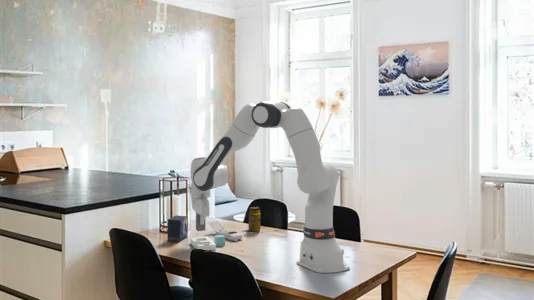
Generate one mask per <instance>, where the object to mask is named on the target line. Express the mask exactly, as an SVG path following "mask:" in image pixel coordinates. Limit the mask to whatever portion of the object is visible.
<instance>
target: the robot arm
mask: <svg viewBox="0 0 534 300" xmlns="http://www.w3.org/2000/svg"><path fill="white" fill-rule="evenodd" d="M260 128H264V129H277V128H282V129H283V131H284V134H285V136H286V138H287V140H288V143H289V145H290V149H291V151H292V153H293V156H294V159H295V164H296V169H297V171H296V172H297V178H296V179H297V180H296V181H297V182H296V183H297V186H298V189H299V190H300V191H301V192H302V193H305V194H307V195H308V197H307V200H306V201H307V202H306V204H305V205H304V206H305V207H304V226H303V236H304V237H303V239H302V240H301V242H300V247H299V259H297V260H296V264H297V265H299V266H301V267H304V268H307V269H309V270H311V271H313V272H316V273H318V274H319V273H320V274H323V273H324V274H328V273H339V272H344V271H348V270H350V269H351V266H350V265H348V263H347V262H345V260H344V255H345V249H344V248H341V247H340V245H339V243H338V242H337V239H336V234H335V233H336V231H335V230H334V226H333V225H334V224H333V223H334V221H333V217H334V216H333V215H334V214H333V213H334V209H333V208H334V202H335V198H336V197H335V196H336V191H337V190H336V189H337V185H338V182H339V180H340V179H339V178H340V174H339V170H338V169H337V168H336V167H335V166H334V165H332V164H328V163H323V160H322V155H321V145H320V142H319V139H318V137H317V134H316V133H315V129H314V128H313V126H312V124H311V121H310V120H309V118H308V115H307V114H306V113H305V111H304V110H303V109H302V108H300V107H291V106H290V105H289V104H287V103H285V102H283V101H275V100H268V101H267V100H265V101H260V102H258V103H257V104H254V103H247V104H245V105H244V106H243V107H242V108H241V109H240V110H239V112H238V113H237V115H235V118H234V119H233V121H232V123H231V124H230V126H229V127H228V129H227V131H226V132H225V134H223V136H222V137H221V138H220V139H219V141H218V142H217V143H216V145H215V146H214V147H213V149H211V150H212V151H211V152H210V153H209V155H208V156H203V157H196V158H193V159H192V161H191V163H190V181H191V184H190V190H189V195H190V200H191V209H192V210H193V211H194V212H195V213H196V212H197V213H198V214H199V215H200V224H201V225H204V220H205V221H206V218H208V217H210V212H211V211H210V201H209V199H208V198H210V197H211V189H216V188H220V187H223V186H225V185H227V183H229V179H230V172H229V170H228V168H227V167H226V166H224V165H222V163H223V162H224V160H226V158H227V157H228V156H230V155H231V154H232V153H234V152H237V151H240V150H243V149H244V148H247V146H249V144H251V142H252V141H253V140H254V137H255V136H256V134H257V132H258V131H259V129H260Z"/></svg>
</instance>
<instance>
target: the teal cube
mask: <svg viewBox="0 0 534 300" xmlns="http://www.w3.org/2000/svg"><path fill="white" fill-rule="evenodd" d="M213 239H214V241H213V242H214V243H215V244H216V247H221V246H223V247H224V246H226V239H225V236H224V235H213Z"/></svg>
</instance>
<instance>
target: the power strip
mask: <svg viewBox="0 0 534 300" xmlns="http://www.w3.org/2000/svg"><path fill="white" fill-rule="evenodd" d="M190 245H192V247H193V248H194V249H195V248H198V249H206V250H212V251H217V246H216V244H215V243H214V241H213V240H212V239H211V238H210V237H208V236H200V237H190Z"/></svg>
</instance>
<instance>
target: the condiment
mask: <svg viewBox="0 0 534 300" xmlns="http://www.w3.org/2000/svg"><path fill="white" fill-rule="evenodd" d="M242 232H244V233H249V234H255V233H261V232H264V230H262V229H261V208H260V207H258V206H250V207H249V210H248V229H244V230H242Z"/></svg>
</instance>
